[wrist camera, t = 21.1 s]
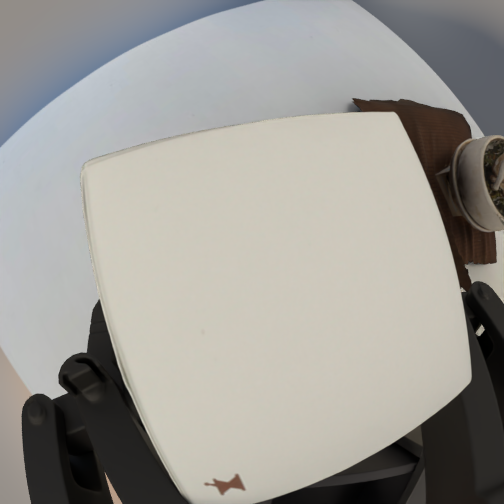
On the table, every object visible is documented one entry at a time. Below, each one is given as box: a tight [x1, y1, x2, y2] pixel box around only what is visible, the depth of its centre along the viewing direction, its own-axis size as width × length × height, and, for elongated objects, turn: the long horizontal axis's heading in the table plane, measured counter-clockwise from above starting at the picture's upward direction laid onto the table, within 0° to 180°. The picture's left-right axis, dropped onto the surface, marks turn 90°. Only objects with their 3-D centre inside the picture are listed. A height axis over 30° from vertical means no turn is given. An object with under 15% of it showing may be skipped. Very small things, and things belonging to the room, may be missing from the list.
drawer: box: [254, 442, 420, 504], centre depth 13 cm, size 18×11×8 cm, turn 77°
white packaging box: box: [80, 112, 472, 504], centre depth 11 cm, size 7×7×13 cm
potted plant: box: [352, 98, 504, 292], centre depth 16 cm, size 20×19×25 cm
